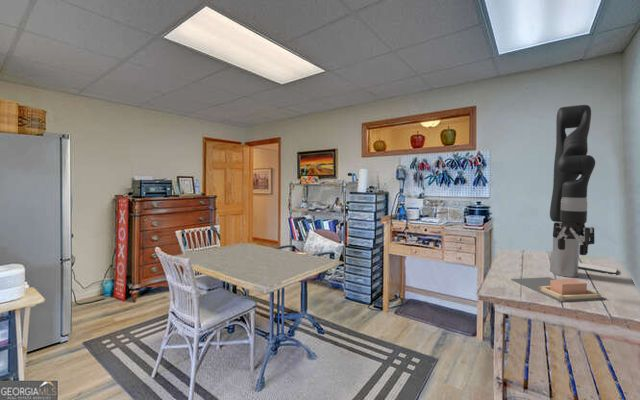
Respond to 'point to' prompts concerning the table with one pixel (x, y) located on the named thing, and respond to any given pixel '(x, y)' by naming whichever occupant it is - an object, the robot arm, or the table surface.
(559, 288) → the terracotta block
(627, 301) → the table surface
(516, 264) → the table surface
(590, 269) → the phone case
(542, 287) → the mat
